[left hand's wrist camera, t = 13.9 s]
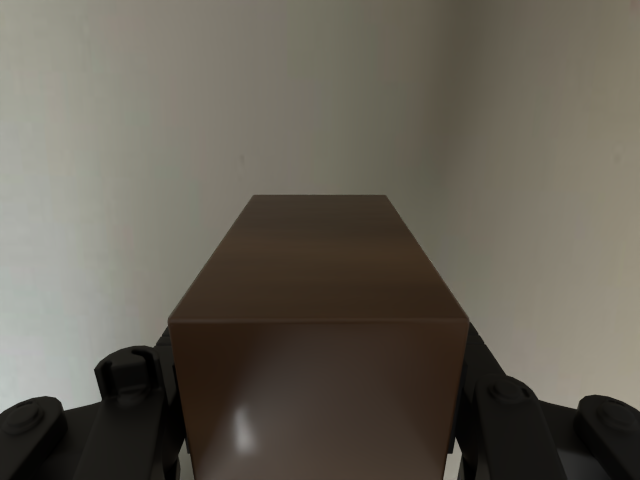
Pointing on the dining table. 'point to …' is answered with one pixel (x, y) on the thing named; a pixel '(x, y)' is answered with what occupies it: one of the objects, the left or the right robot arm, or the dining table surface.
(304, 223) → the bar
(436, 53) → the dining table surface
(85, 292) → the dining table surface
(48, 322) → the dining table surface
